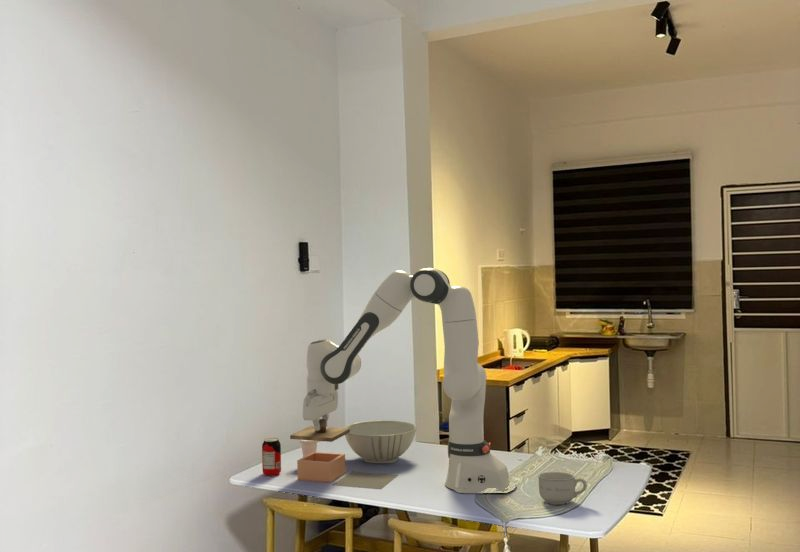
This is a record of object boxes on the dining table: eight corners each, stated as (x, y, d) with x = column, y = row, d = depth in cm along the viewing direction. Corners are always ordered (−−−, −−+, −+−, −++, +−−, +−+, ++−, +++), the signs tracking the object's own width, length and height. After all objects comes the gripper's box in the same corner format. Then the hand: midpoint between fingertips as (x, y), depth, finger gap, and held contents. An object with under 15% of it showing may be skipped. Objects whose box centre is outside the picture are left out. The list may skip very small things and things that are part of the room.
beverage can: (285, 473, 247) (284, 438, 247) (272, 477, 242) (271, 442, 242) (271, 470, 250) (271, 436, 250) (258, 475, 245) (258, 440, 245)
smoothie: (315, 468, 252) (314, 429, 252) (298, 468, 253) (297, 428, 253) (320, 464, 258) (320, 425, 258) (304, 463, 260) (303, 425, 260)
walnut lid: (349, 432, 245) (349, 416, 245) (331, 441, 230) (331, 425, 230) (310, 429, 250) (310, 414, 250) (290, 438, 235) (290, 423, 235)
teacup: (532, 504, 209) (532, 476, 209) (547, 494, 218) (546, 468, 218) (579, 511, 201) (578, 483, 201) (591, 501, 210) (591, 474, 210)
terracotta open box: (345, 474, 244) (345, 454, 244) (330, 484, 232) (330, 462, 232) (313, 472, 248) (313, 451, 248) (297, 481, 236) (297, 460, 236)
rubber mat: (398, 476, 240) (398, 474, 240) (381, 491, 224) (381, 489, 224) (352, 472, 245) (352, 471, 245) (331, 486, 229) (331, 485, 229)
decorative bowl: (391, 474, 243) (391, 438, 243) (329, 464, 257) (328, 431, 258) (430, 456, 266) (429, 424, 266) (370, 448, 280) (370, 417, 280)
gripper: (315, 392, 229) (315, 435, 229) (340, 383, 248) (341, 423, 248) (297, 392, 231) (298, 434, 231) (324, 383, 251) (324, 422, 251)
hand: (320, 428), depth 240 cm, fingers closed on walnut lid, 4 cm apart
